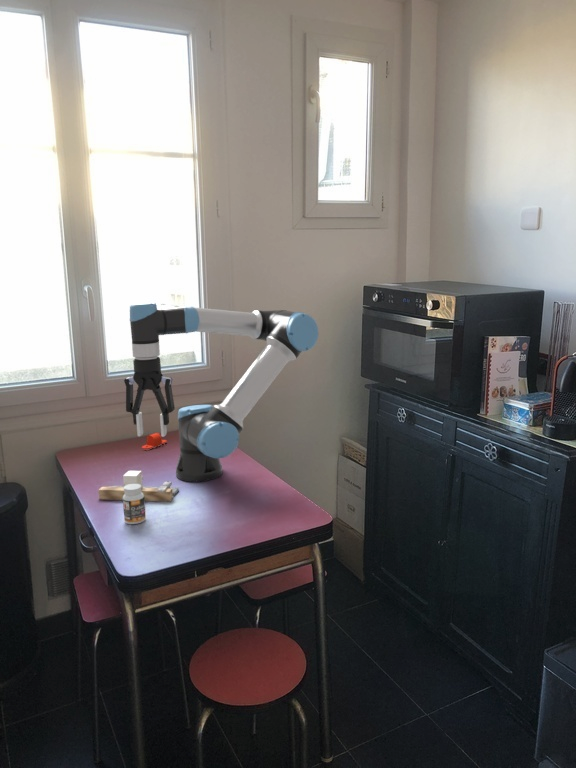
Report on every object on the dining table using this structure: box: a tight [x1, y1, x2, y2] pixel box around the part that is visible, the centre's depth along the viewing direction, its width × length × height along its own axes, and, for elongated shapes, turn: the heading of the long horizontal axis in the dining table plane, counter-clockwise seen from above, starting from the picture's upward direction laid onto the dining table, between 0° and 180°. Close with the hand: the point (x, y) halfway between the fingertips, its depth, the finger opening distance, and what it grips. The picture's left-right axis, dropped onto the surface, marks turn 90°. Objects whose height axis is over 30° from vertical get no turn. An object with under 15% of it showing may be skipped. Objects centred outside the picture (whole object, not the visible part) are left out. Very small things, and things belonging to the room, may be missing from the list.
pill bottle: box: [122, 484, 147, 525], centre depth 171 cm, size 6×6×10 cm
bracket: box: [141, 432, 168, 449], centre depth 237 cm, size 12×4×5 cm, turn 147°
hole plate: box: [109, 485, 180, 497], centre depth 192 cm, size 22×4×1 cm, turn 83°
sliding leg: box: [122, 470, 144, 488], centre depth 188 cm, size 4×8×8 cm, turn 173°
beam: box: [98, 486, 174, 502], centre depth 187 cm, size 22×2×3 cm, turn 83°
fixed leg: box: [157, 480, 172, 492], centre depth 187 cm, size 2×7×2 cm, turn 173°
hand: (152, 435), depth 182 cm, fingers open, 6 cm apart
